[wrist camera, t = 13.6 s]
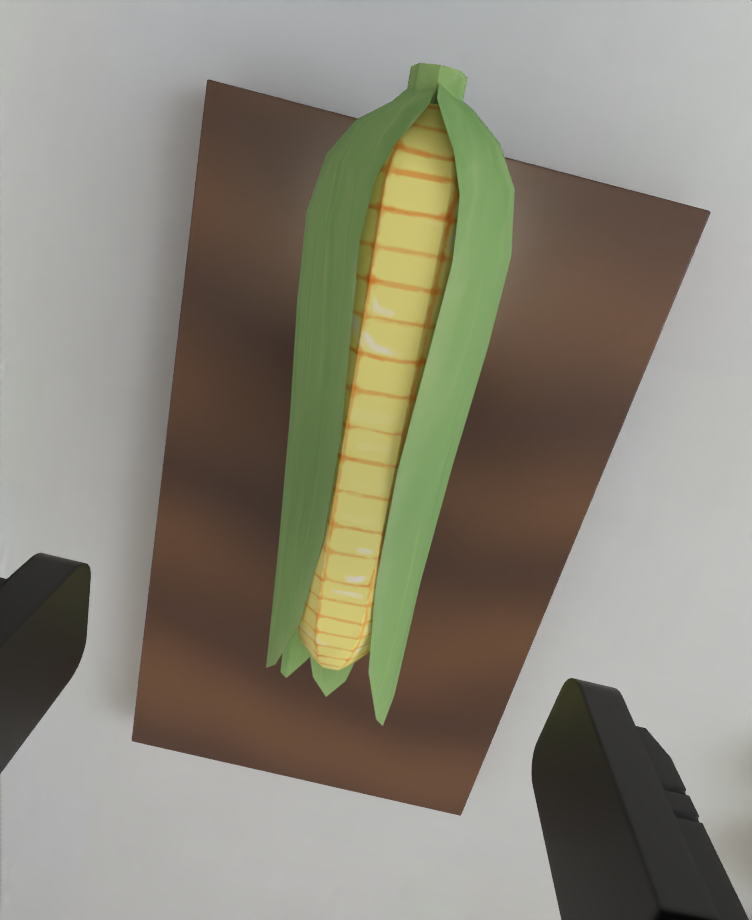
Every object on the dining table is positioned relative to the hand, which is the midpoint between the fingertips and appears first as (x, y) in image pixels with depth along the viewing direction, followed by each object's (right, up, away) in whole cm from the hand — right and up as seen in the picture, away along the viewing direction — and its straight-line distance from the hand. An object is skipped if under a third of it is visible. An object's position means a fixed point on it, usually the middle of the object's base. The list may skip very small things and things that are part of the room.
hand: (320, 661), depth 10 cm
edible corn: (+1, +4, +10) cm, 10 cm away
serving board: (0, +1, +12) cm, 12 cm away
